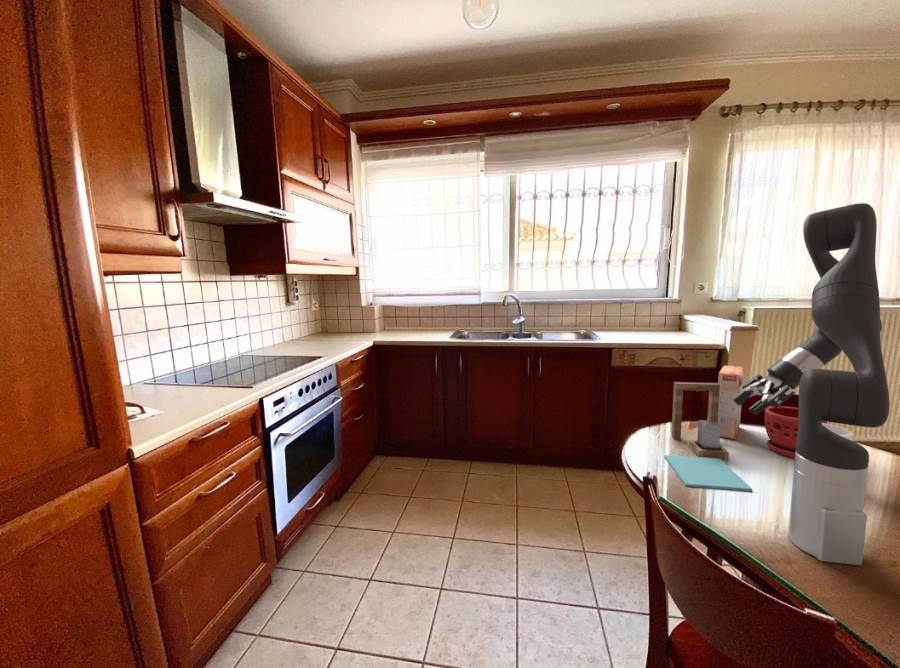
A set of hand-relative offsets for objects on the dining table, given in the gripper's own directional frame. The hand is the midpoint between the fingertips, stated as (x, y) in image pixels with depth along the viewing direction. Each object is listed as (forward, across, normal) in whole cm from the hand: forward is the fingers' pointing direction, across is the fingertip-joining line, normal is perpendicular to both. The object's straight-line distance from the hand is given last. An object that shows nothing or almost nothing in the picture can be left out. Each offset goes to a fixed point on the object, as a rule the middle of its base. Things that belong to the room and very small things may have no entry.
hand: (743, 407), depth 106 cm
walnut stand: (+16, -4, +4) cm, 17 cm away
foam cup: (+2, +12, +18) cm, 22 cm away
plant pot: (0, -4, +20) cm, 21 cm away
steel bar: (+16, 0, +4) cm, 16 cm away
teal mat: (+20, +13, 0) cm, 24 cm away
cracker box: (+7, -18, +13) cm, 23 cm away
